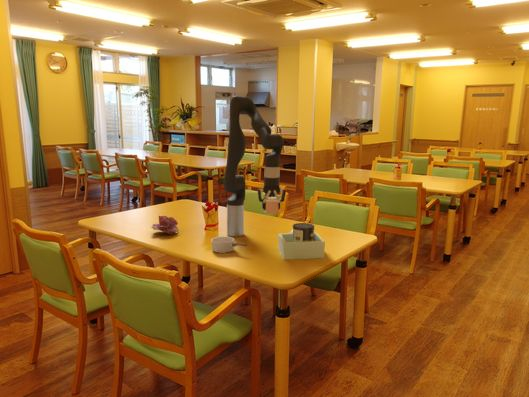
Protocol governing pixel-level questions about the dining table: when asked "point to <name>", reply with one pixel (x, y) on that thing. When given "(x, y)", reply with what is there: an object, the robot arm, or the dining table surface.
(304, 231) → the coffee can
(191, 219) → the dining table surface
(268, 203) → the pink block
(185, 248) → the dining table surface
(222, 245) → the saucepan
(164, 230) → the flower
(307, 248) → the tote
